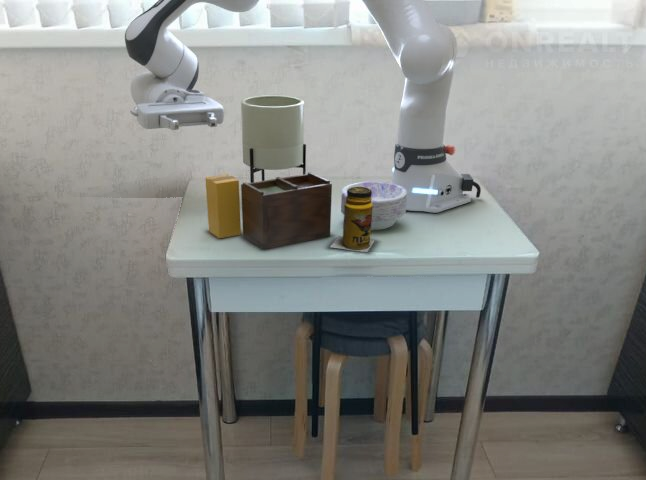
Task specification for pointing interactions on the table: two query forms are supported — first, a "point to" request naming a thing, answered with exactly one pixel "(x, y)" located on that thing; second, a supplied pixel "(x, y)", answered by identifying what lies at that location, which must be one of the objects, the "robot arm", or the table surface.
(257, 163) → the planter
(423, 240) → the table surface
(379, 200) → the paper bowls
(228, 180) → the package
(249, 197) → the rack
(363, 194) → the condiment
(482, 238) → the table surface
